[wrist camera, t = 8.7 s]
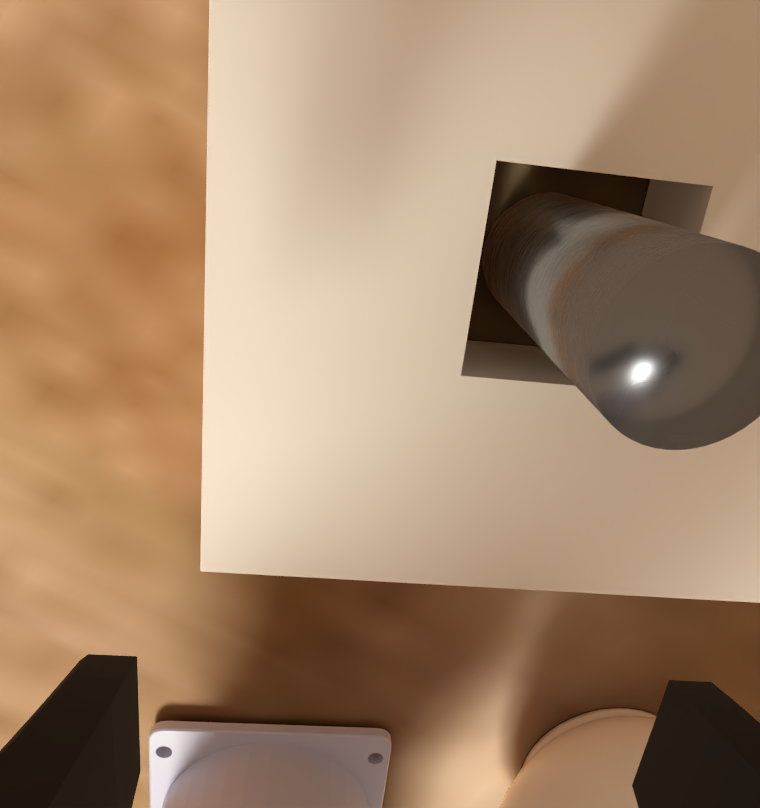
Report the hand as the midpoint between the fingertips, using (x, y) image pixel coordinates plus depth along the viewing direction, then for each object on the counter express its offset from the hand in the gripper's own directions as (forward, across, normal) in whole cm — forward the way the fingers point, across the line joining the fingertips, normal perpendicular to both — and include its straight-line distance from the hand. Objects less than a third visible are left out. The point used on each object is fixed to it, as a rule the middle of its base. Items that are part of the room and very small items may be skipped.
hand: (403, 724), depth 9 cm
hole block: (+10, -4, -5) cm, 12 cm away
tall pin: (+10, -4, -5) cm, 12 cm away
